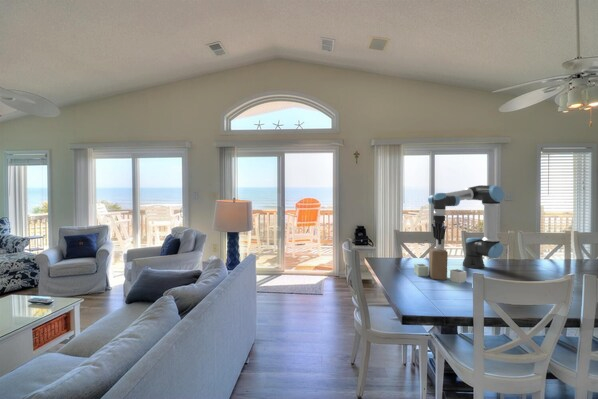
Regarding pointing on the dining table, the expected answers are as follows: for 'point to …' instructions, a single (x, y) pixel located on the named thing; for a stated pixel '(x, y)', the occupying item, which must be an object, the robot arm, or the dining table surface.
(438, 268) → the wooden block
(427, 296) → the dining table surface
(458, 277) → the cream labelled cube
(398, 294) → the dining table surface
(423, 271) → the sage labelled cube
